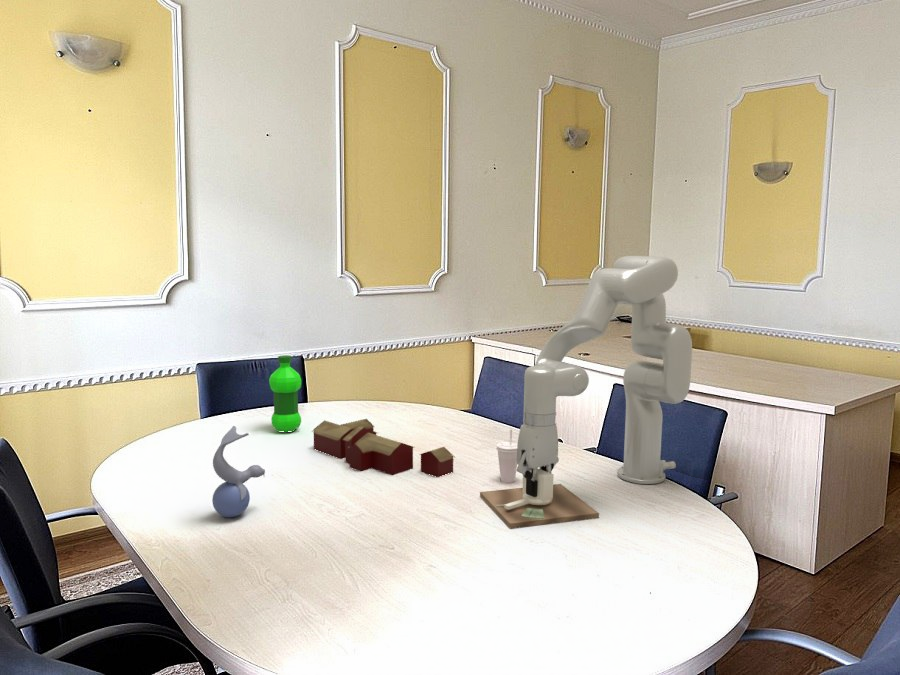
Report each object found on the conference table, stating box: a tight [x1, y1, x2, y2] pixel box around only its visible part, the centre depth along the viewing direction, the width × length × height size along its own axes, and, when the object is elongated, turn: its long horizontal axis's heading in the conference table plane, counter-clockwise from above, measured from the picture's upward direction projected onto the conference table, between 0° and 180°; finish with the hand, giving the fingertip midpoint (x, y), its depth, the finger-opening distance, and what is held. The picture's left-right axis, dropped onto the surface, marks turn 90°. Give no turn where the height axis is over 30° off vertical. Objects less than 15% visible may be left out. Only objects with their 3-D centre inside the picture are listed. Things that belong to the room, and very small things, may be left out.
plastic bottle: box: [268, 355, 302, 432], centre depth 228 cm, size 10×10×25 cm
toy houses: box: [311, 418, 454, 478], centre depth 199 cm, size 45×20×10 cm, turn 47°
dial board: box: [479, 483, 600, 530], centre depth 166 cm, size 22×20×1 cm
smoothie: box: [496, 428, 518, 484], centre depth 183 cm, size 6×6×14 cm
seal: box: [212, 425, 266, 518], centre depth 159 cm, size 8×12×20 cm
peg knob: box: [504, 468, 555, 510], centre depth 164 cm, size 14×7×7 cm, turn 128°
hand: (537, 492), depth 166 cm, fingers closed on peg knob, 3 cm apart
